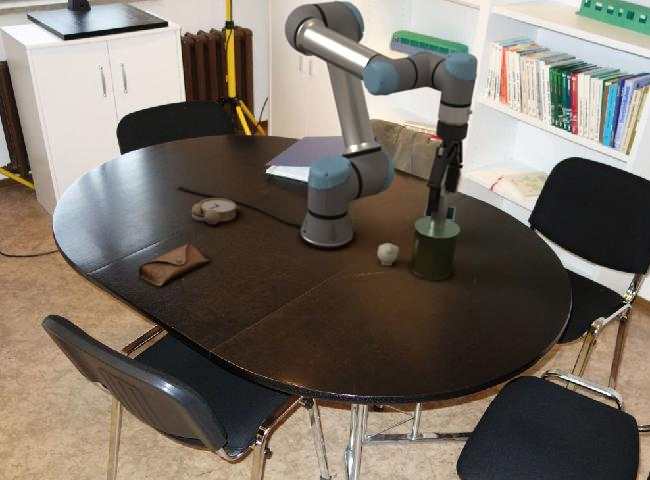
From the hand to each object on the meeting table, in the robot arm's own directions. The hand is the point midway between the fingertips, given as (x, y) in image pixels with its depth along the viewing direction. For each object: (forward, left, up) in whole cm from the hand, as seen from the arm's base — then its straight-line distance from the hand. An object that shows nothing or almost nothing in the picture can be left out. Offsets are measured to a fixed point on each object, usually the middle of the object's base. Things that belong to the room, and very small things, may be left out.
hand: (441, 201), depth 178 cm
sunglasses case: (-59, -36, -21) cm, 72 cm away
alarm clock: (-68, -6, -21) cm, 72 cm away
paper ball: (-12, -3, -18) cm, 22 cm away
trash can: (0, 0, -21) cm, 21 cm away
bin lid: (0, 0, -8) cm, 8 cm away
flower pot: (-5, +18, -21) cm, 28 cm away
